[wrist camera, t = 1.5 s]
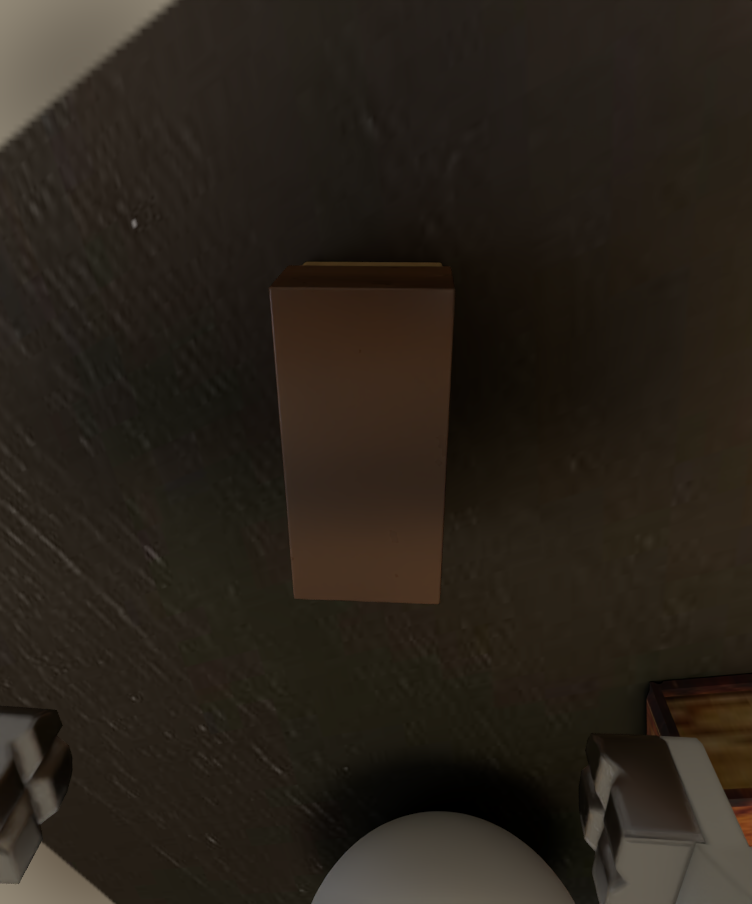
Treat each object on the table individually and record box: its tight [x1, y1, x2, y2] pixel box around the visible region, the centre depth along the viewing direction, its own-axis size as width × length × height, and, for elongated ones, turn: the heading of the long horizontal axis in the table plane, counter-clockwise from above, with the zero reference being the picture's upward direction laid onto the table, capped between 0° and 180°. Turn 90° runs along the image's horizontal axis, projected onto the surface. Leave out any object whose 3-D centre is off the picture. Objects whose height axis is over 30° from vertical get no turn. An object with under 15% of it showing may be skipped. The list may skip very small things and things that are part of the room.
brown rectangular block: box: [269, 262, 455, 604], centre depth 19 cm, size 9×4×4 cm, turn 0°
